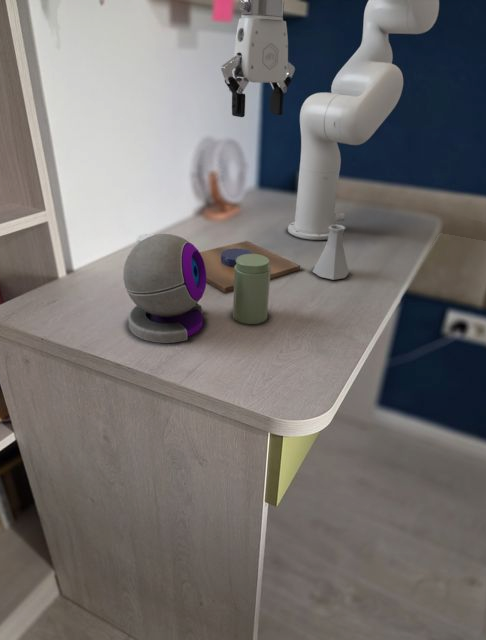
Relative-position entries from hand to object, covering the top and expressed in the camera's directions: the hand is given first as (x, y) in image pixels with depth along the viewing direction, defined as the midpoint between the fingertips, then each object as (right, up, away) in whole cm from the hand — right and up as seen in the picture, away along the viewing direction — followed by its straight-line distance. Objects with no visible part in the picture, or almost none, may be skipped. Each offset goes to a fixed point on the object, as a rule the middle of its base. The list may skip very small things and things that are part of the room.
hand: (257, 115), depth 98 cm
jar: (-2, -40, -12) cm, 42 cm away
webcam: (-15, -42, -15) cm, 47 cm away
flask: (+15, -31, +6) cm, 35 cm away
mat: (-4, -29, +7) cm, 30 cm away
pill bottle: (-20, -34, -3) cm, 40 cm away
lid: (-4, -27, +6) cm, 28 cm away
